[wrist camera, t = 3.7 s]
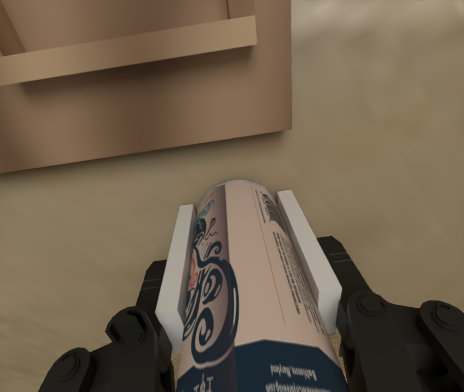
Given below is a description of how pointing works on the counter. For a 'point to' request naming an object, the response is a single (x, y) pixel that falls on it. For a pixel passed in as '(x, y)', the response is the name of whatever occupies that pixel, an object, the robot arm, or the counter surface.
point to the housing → (138, 76)
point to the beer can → (251, 303)
